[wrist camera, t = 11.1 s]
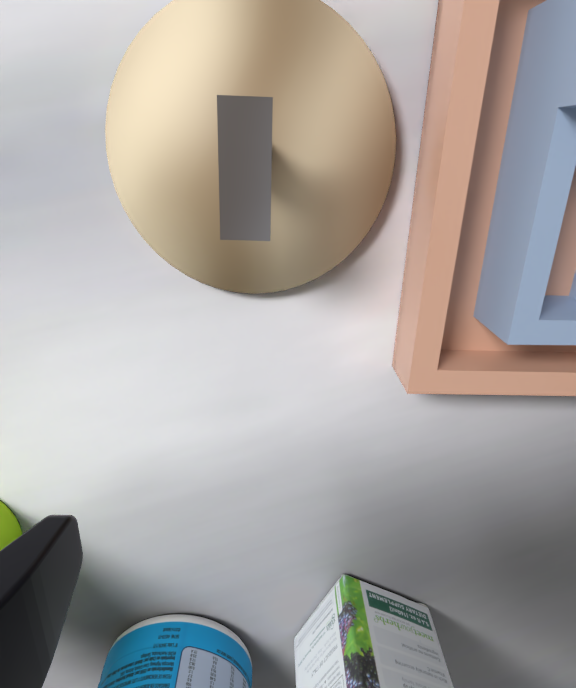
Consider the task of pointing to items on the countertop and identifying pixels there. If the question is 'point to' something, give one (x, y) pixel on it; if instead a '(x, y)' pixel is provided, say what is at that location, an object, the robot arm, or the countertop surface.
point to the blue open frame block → (534, 188)
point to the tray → (470, 217)
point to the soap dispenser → (8, 526)
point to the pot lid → (250, 140)
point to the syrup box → (369, 642)
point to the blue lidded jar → (177, 656)
